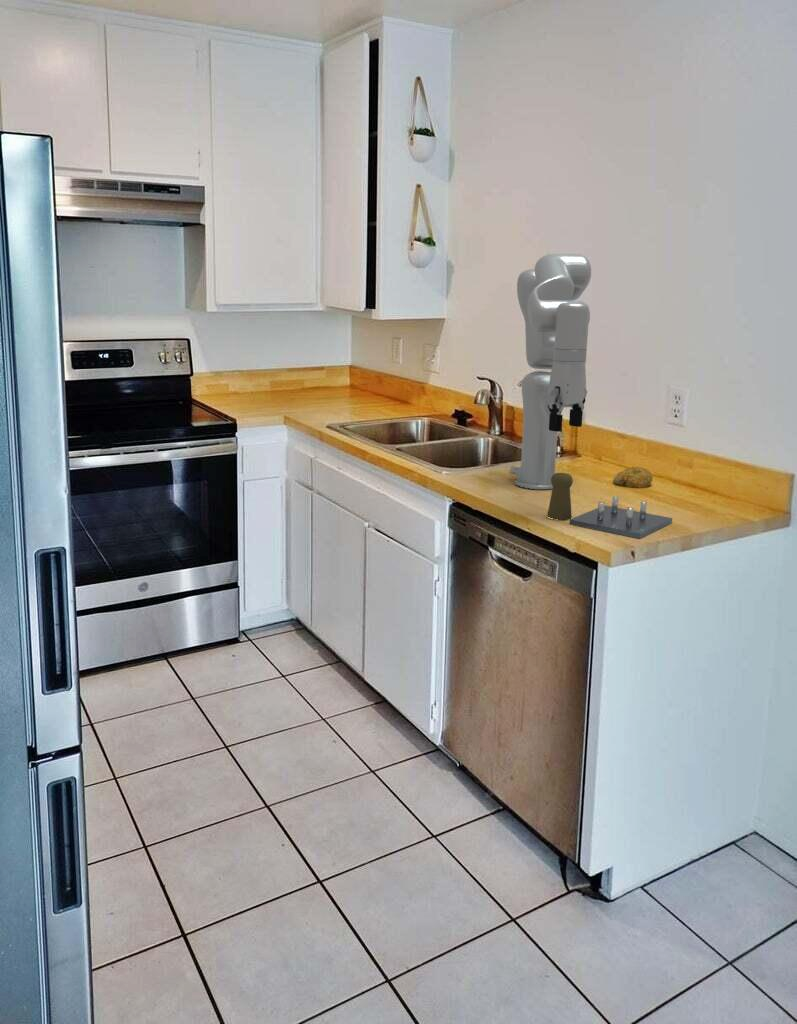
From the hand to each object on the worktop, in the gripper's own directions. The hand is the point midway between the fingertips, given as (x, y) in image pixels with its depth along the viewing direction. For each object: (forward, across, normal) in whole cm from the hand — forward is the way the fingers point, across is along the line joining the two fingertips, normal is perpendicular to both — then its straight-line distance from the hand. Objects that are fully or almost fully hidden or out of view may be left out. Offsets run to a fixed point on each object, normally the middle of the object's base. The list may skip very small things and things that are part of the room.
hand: (565, 428), depth 218 cm
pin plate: (+22, -5, +14) cm, 27 cm away
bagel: (+22, -46, -2) cm, 51 cm away
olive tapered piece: (+22, 0, 0) cm, 22 cm away
